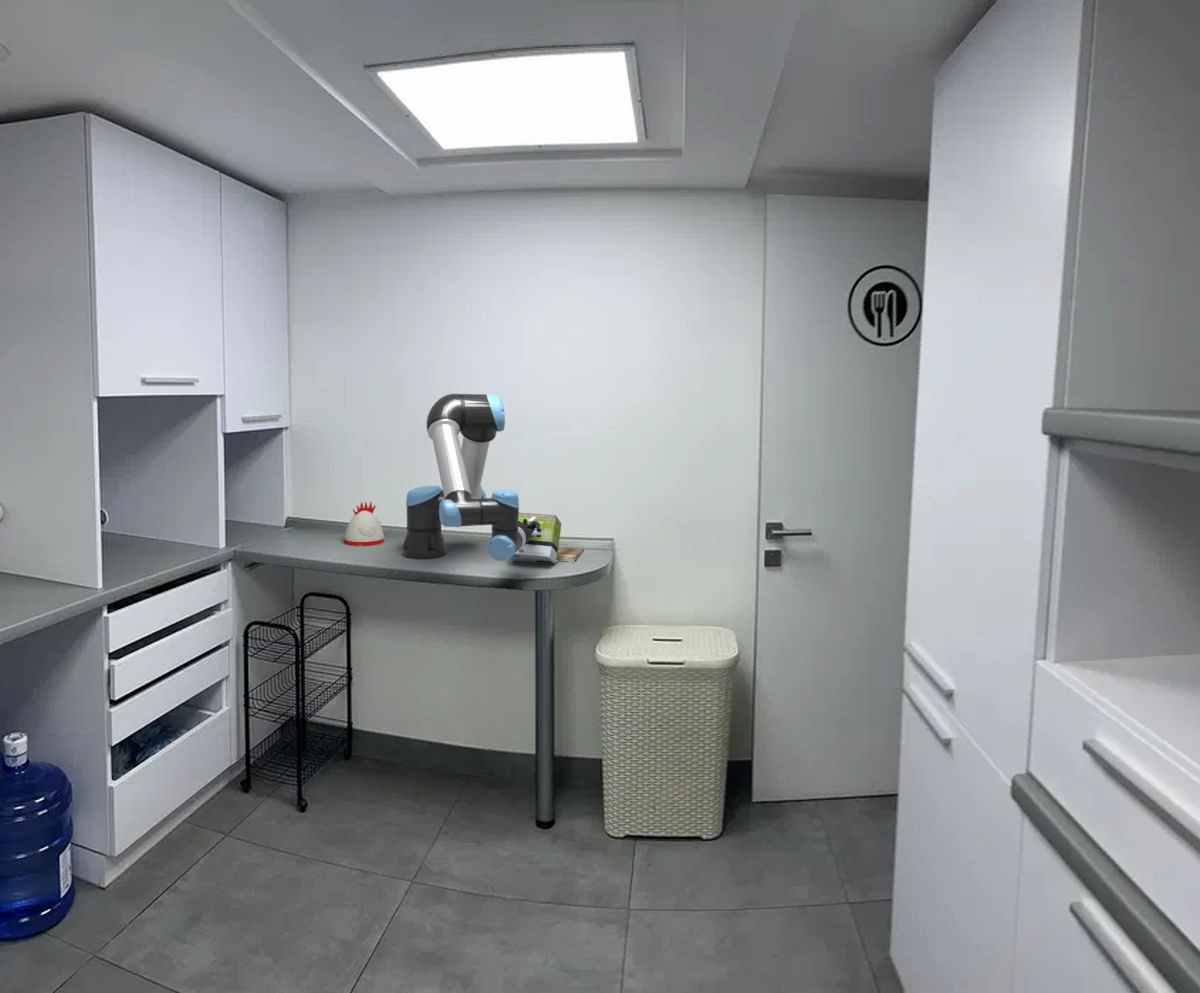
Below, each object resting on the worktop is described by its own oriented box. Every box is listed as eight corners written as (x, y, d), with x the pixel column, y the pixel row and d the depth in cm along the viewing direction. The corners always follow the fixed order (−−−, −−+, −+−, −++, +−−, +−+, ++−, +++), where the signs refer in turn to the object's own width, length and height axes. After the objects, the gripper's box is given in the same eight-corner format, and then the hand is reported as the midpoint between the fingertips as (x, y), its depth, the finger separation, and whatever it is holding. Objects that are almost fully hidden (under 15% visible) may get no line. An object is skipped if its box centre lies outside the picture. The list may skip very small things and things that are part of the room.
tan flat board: (500, 557, 261) (500, 552, 261) (514, 546, 278) (514, 541, 278) (574, 562, 257) (574, 556, 257) (583, 550, 274) (583, 545, 274)
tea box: (505, 553, 248) (512, 511, 252) (513, 561, 257) (519, 520, 262) (550, 557, 245) (556, 513, 250) (556, 564, 255) (562, 522, 259)
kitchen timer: (388, 544, 277) (387, 504, 275) (349, 547, 270) (348, 506, 268) (379, 537, 289) (378, 498, 287) (341, 540, 282) (340, 500, 280)
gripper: (493, 547, 228) (515, 530, 251) (535, 551, 226) (553, 533, 249) (493, 523, 227) (515, 508, 250) (535, 526, 225) (554, 511, 248)
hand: (534, 520), depth 250 cm, fingers closed
